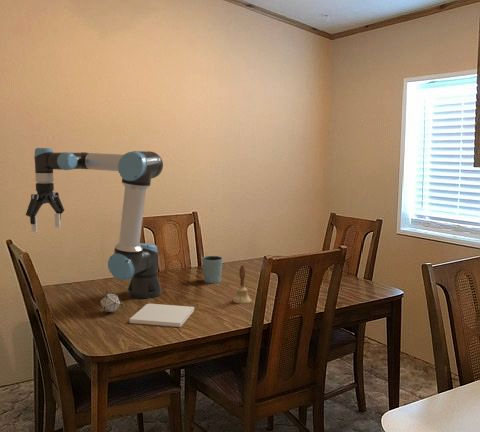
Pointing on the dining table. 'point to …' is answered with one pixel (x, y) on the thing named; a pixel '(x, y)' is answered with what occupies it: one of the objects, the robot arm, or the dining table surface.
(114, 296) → the game die
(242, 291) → the hand bell
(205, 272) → the blue cup
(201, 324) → the dining table surface
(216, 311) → the dining table surface
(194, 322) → the dining table surface
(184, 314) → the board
